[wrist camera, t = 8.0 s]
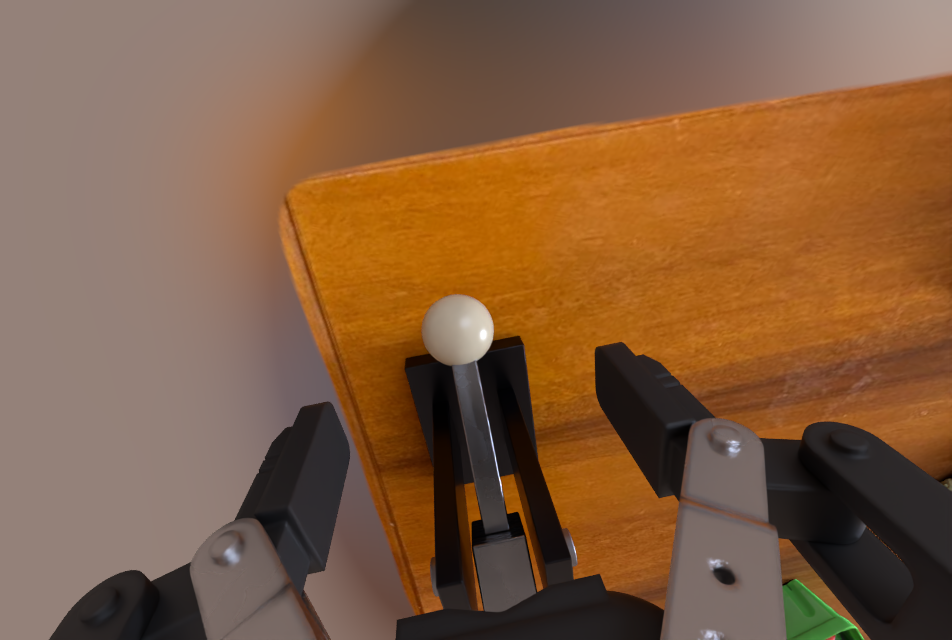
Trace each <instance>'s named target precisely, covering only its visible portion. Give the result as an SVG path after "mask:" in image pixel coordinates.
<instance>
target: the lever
mask: <svg viewBox="0 0 952 640" xmlns="http://www.w3.org/2000/svg"><path fill="white" fill-rule="evenodd" d="M493 334H494V326H493V321H492V318H491V315H490V313H489V312H488V310H487V309H486V307H485V306H484V305H483V304H482V303H481V302H479V301H478V300H476V299H474V298H472V297H470V296H467V295H461V294H455V295H449V296H446V297H443V298H441V299H439V300H438V301H436V302H435V303H434V304H433V305H432V306H431V307H430V308H429V309H428V311H427V312H426V314H425V316H424V319H423V322H422V339H423V342H424V345H425V347H426V349H427V350H428V352H429V353H430V354H431V355H432V356H433V357H434V358H435V359H436V360H438V361H439V362H441V363H443V364H446V365H449V366H452V370H453V376H454V381H455V386H456V391H457V396H458V401H459V407H460V412H461V417H462V422H463V427H464V432H465V438H466V443H467V448H468V453H469V458H470V463H471V469H472V474H473V479H474V484H475V489H476V494H477V500H478V505H479V510H480V515H481V520H477V521H473V522H472V551H473V557H474V562H475V567H476V572H477V578H478V583H479V588H480V593H481V599H482V604H483V609H484V611H489V612H502V611H505V610H507V609H509V608H511V607H512V606H514V605H516V604H518V603H520V602H521V601H523V600H525V599H527V598H528V597H530V596H532V595H534V594H536V593H537V589H536V584H535V579H534V574H533V569H532V564H531V559H530V554H529V549H528V544H527V539H526V535H525V532H524V529H523V525H522V522H521V519H520V516H519V513H518V512H514V513H510V514H507V511H506V506H505V501H504V496H503V491H502V486H501V481H500V476H499V470H498V465H497V460H496V455H495V450H494V445H493V440H492V435H491V430H490V425H489V420H488V415H487V410H486V405H485V400H484V395H483V390H482V385H481V380H480V375H479V370H478V365H477V361H478V360H479V359H480V358H482V357H483V356H484V355H485V353H486V352H487V351H488V349H489V347H490V345H491V343H492V340H493Z"/></svg>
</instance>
